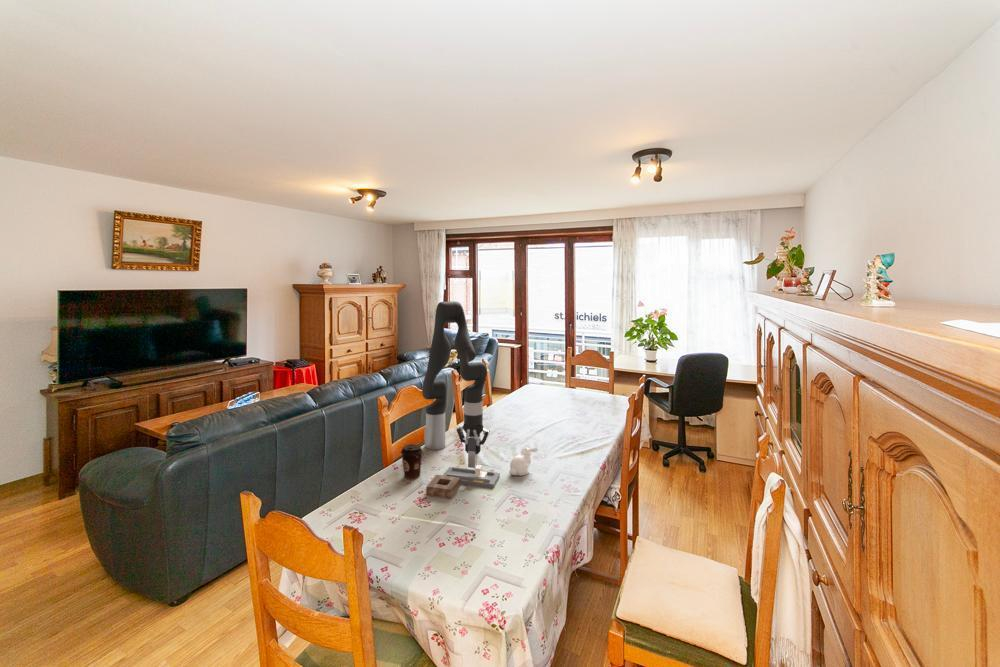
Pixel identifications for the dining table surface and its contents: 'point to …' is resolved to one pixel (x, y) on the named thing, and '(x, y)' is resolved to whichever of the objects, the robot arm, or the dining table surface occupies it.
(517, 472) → the rabbit
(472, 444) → the pin tool
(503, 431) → the dining table surface
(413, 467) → the coffee cup
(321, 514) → the dining table surface
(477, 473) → the switch slider
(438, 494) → the brown wooden socket block
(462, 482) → the switch panel
